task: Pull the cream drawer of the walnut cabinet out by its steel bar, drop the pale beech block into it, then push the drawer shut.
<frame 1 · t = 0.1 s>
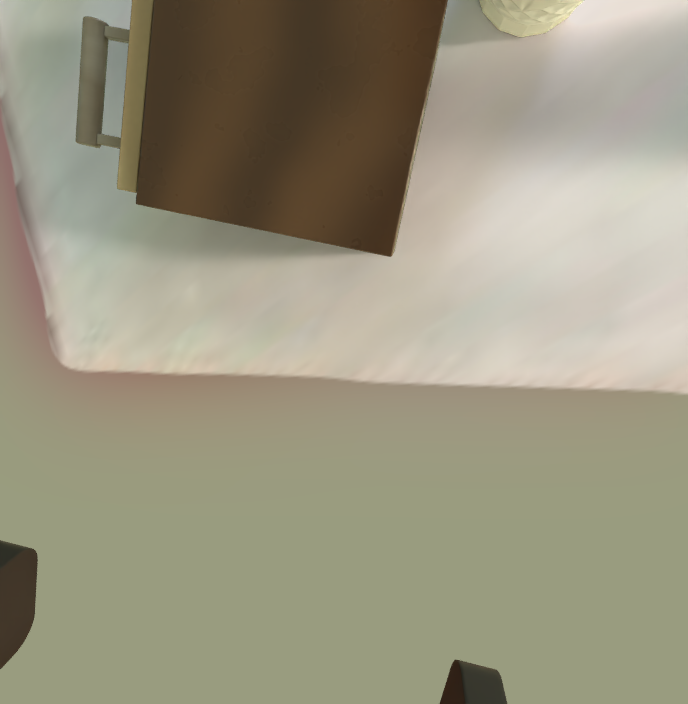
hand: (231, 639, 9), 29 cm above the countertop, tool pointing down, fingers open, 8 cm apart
drawer: (228, 114, 30), point 5 cm above the countertop, slide at 0.5 cm
cabinet: (312, 142, 35), on the countertop
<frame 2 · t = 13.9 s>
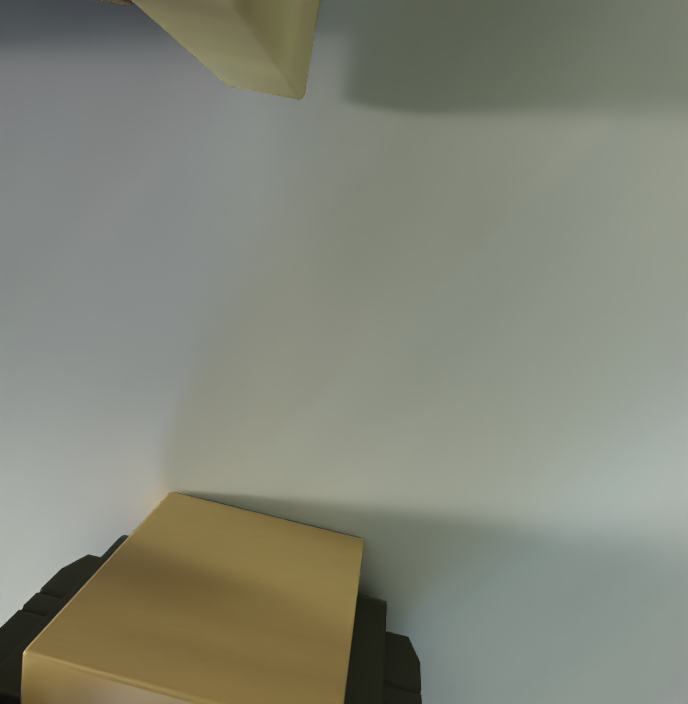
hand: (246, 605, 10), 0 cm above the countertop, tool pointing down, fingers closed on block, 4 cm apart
block: (250, 597, 10), on the countertop, touching gripper
when the fingers open (10 cm above the countertop, at t = 30.3 s): block drops 8 cm, resting on drawer.
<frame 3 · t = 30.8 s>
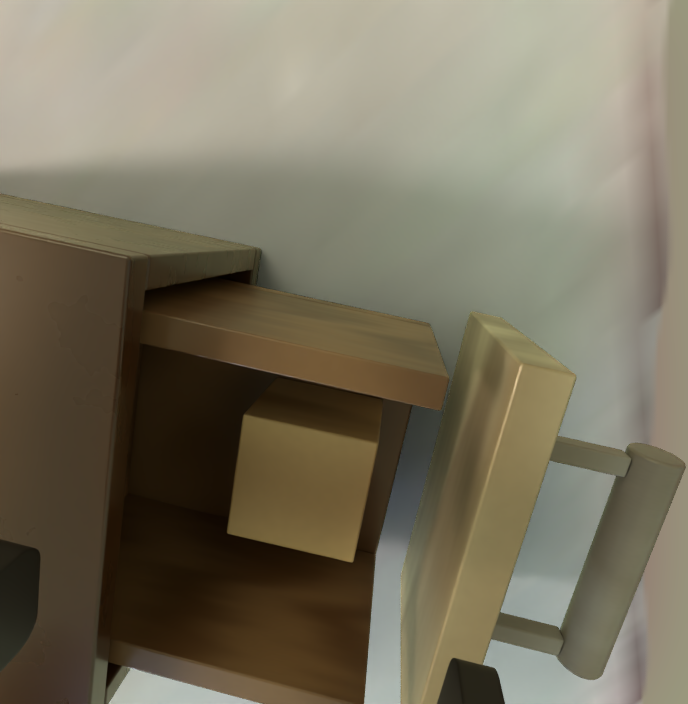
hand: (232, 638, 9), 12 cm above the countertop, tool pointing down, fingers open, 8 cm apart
drawer: (337, 480, 16), point 5 cm above the countertop, slide at 8.2 cm, touching block
cabinet: (75, 361, 21), on the countertop
block: (320, 437, 18), point 2 cm above the countertop, touching drawer
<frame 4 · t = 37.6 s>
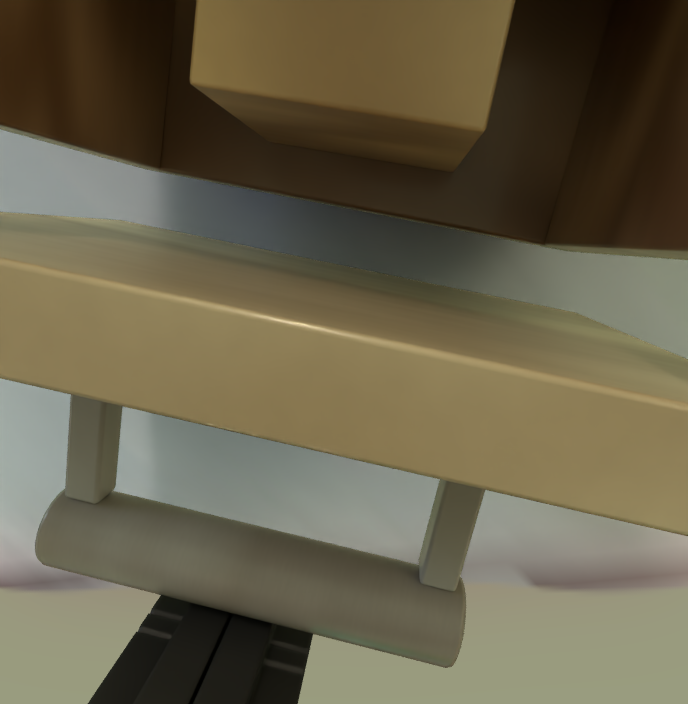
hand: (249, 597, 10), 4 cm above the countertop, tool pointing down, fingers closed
drawer: (351, 58, 7), point 5 cm above the countertop, slide at 7.0 cm, touching block, gripper
block: (377, 52, 10), point 2 cm above the countertop, touching drawer
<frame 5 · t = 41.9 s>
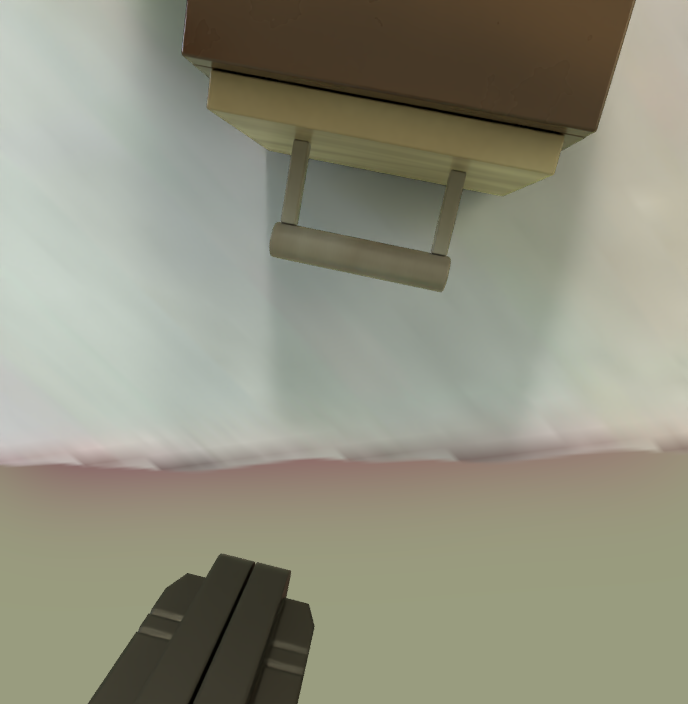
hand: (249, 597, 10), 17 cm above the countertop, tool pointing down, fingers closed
drawer: (406, 34, 18), point 5 cm above the countertop, slide at 0.0 cm, touching block
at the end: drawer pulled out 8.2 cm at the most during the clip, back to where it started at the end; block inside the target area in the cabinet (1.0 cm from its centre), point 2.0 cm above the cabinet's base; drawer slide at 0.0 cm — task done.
